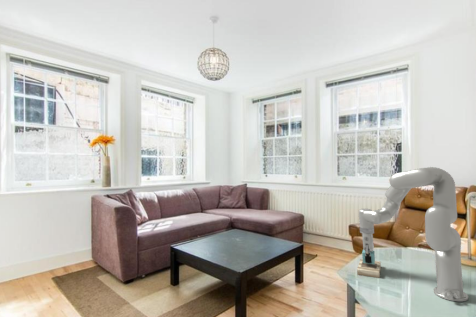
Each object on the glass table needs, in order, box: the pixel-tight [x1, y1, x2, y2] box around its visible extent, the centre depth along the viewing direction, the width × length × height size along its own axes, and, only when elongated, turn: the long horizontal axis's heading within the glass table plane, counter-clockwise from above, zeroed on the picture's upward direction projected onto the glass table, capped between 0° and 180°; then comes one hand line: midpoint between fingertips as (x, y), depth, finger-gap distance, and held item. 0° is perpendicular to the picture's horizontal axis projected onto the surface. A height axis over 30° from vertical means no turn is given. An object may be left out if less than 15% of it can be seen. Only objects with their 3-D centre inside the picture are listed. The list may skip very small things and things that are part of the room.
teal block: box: [361, 249, 376, 264], centre depth 154 cm, size 6×6×6 cm
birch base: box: [356, 258, 382, 279], centre depth 153 cm, size 18×11×3 cm, turn 149°
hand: (368, 260), depth 154 cm, fingers closed on teal block, 5 cm apart
